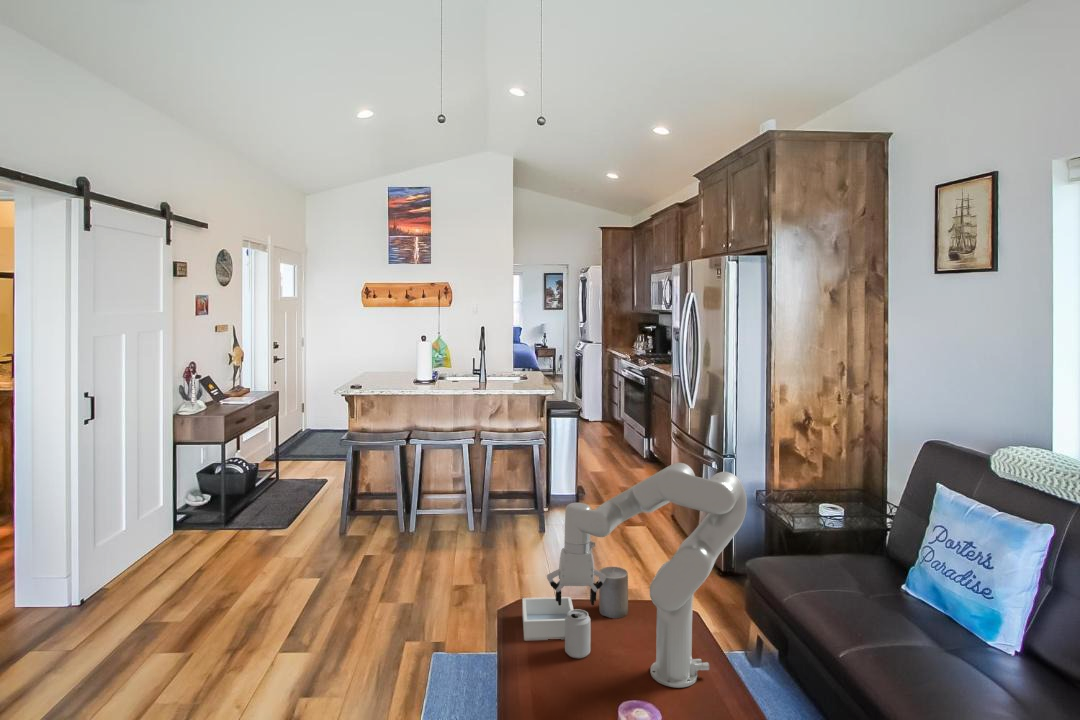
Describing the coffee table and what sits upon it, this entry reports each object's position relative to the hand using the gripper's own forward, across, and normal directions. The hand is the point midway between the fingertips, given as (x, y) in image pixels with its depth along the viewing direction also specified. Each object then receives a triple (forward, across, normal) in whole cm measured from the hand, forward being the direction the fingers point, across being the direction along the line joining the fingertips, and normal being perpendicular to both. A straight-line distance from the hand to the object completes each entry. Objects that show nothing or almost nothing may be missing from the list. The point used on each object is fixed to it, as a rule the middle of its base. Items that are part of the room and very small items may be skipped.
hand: (575, 603), depth 181 cm
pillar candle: (+15, -16, -24) cm, 33 cm away
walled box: (+15, +7, -16) cm, 23 cm away
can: (+15, -1, 0) cm, 15 cm away
